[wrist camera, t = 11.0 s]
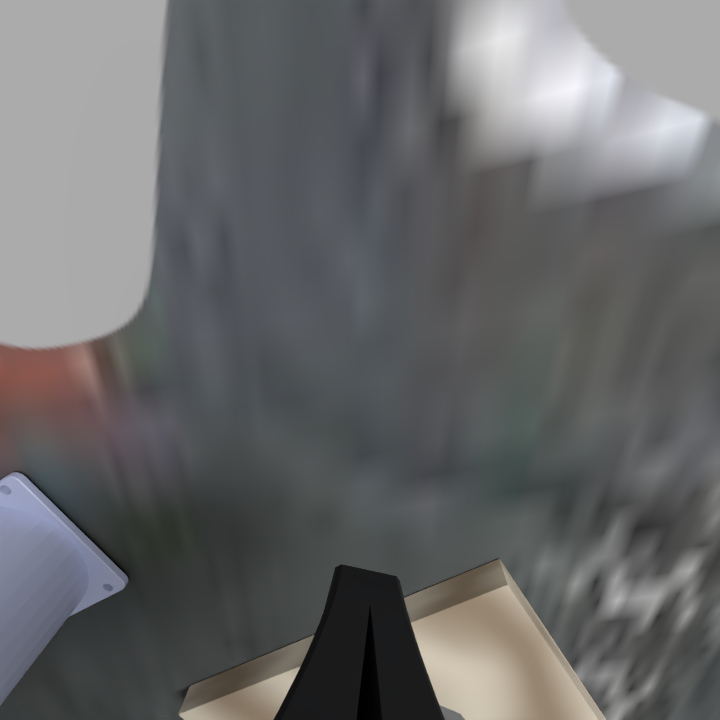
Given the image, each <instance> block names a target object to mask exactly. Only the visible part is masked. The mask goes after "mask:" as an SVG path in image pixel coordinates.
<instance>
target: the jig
mask: <svg viewBox="0 0 720 720" xmlns="http://www.w3.org/2000/svg"><path fill="white" fill-rule="evenodd" d="M404 600H405V604H406V608H407V611H408V615H409V618H410V622H411V625H412V628H413V631H414V634H415V638H416V641H417V644H418V647H419V650H420V653H421V656H422V659H423V662H424V665H425V667H426V670H427V673H428V676H429V678H430V681H431V684H432V687H433V689H434V692H435V695H436V698H437V700H438V703H439V705H440V708H441V711H442V713H443V716H444V718H445V720H606V719H605V717H604V716H603V714H602V712H601V711H600V709H599V708H598V706H597V705H596V703H595V702H594V700H593V699H592V697H591V696H590V694H589V693H588V691H587V690H586V688H585V687H584V685H583V684H582V682H581V681H580V679H579V678H578V676H577V675H576V673H575V672H574V670H573V669H572V667H571V666H570V664H569V663H568V661H567V660H566V658H565V657H564V655H563V654H562V652H561V651H560V649H559V648H558V646H557V645H556V643H555V642H554V640H553V639H552V637H551V636H550V634H549V633H548V631H547V630H546V628H545V627H544V625H543V624H542V622H541V621H540V619H539V618H538V616H537V615H536V613H535V612H534V610H533V609H532V607H531V606H530V604H529V603H528V601H527V600H526V598H525V597H524V595H523V594H522V592H521V591H520V589H519V587H518V586H517V584H516V583H515V581H514V580H513V578H512V577H511V575H510V574H509V572H508V571H507V569H506V568H505V566H504V565H503V563H502V562H501V560H500V559H497V560H495V561H492V562H490V563H487V564H485V565H483V566H480V567H478V568H475V569H473V570H470V571H468V572H466V573H463V574H461V575H458V576H456V577H453V578H451V579H449V580H446V581H444V582H441V583H439V584H436V585H434V586H432V587H429V588H427V589H424V590H422V591H419V592H417V593H415V594H412V595H410V596H407V597H405V598H404ZM313 637H314V635H312V636H310V637H307V638H305V639H303V640H300V641H298V642H295V643H293V644H290V645H288V646H286V647H283V648H281V649H278V650H276V651H273V652H271V653H269V654H266V655H264V656H261V657H259V658H256V659H254V660H252V661H249V662H247V663H244V664H242V665H239V666H237V667H235V668H232V669H230V670H227V671H225V672H222V673H220V674H218V675H215V676H213V677H210V678H208V679H205V680H203V681H200V682H198V683H196V684H193V685H191V686H190V687H189V689H188V692H187V694H186V697H185V699H184V702H183V704H182V707H181V709H180V711H179V714H178V715H180V716H181V717H182V718H183V719H184V720H274V718H275V716H276V714H277V712H278V710H279V708H280V706H281V704H282V703H283V701H284V699H285V697H286V695H287V693H288V691H289V689H290V687H291V685H292V683H293V681H294V679H295V677H296V675H297V673H298V671H299V669H300V667H301V665H302V662H303V660H304V658H305V656H306V654H307V651H308V649H309V647H310V644H311V642H312V640H313Z"/></svg>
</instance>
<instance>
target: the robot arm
mask: <svg viewBox="0 0 720 720" xmlns="http://www.w3.org/2000/svg"><path fill="white" fill-rule="evenodd" d="M127 583H128V577H127V576H126V574H125V573H124V572H123V571H122V570H121V569H119V568H118V567H117V566H116V565H115V564H114V563H113V562H112V561H111V560H110V559H109V558H108V557H107V556H106V555H105V554H104V553H103V552H102V551H101V550H100V549H99V548H98V547H97V546H96V545H95V544H94V543H93V542H92V541H91V540H90V539H89V538H88V537H87V536H86V535H85V534H84V533H83V532H82V531H81V530H80V529H79V528H78V527H77V526H76V525H75V524H74V523H73V522H72V521H70V520H69V519H68V518H67V517H66V516H65V515H64V514H63V513H62V512H61V511H60V510H59V509H58V508H57V507H56V506H55V505H54V504H53V503H52V502H51V501H50V500H49V499H48V498H47V497H46V496H45V495H44V494H43V493H42V492H41V491H40V490H39V489H38V488H37V487H36V486H35V485H34V484H33V483H32V482H31V481H30V480H29V479H28V478H27V477H26V476H24V475H23V474H21V473H18V472H13V473H11V474H9V475H7V476H6V477H4V478H3V479H1V480H0V705H1V704H2V703H3V701H4V700H5V699H6V698H7V696H8V695H9V694H10V692H11V691H12V690H13V688H14V687H15V686H16V685H17V683H18V682H19V681H20V679H21V678H22V677H23V675H24V674H25V673H26V672H27V670H28V669H29V668H30V666H31V665H32V664H33V662H34V661H35V660H36V659H37V657H38V656H39V655H40V653H41V652H42V651H43V649H44V648H45V647H46V646H47V644H48V643H49V642H50V640H51V639H52V638H53V636H54V635H55V634H56V632H57V631H58V630H59V629H60V627H61V626H62V625H63V623H64V622H65V621H66V619H67V618H68V617H70V616H71V615H73V614H75V613H77V612H79V611H81V610H83V609H85V608H87V607H89V606H91V605H93V604H95V603H97V602H99V601H101V600H103V599H105V598H107V597H109V596H111V595H113V594H115V593H117V592H119V591H121V590H123V589H124V588H125V586H126V585H127ZM274 720H445V718H444V716H443V713H442V711H441V708H440V705H439V703H438V700H437V698H436V695H435V692H434V689H433V687H432V684H431V681H430V678H429V676H428V673H427V670H426V667H425V665H424V662H423V659H422V656H421V653H420V650H419V647H418V644H417V641H416V638H415V634H414V631H413V628H412V625H411V622H410V618H409V615H408V611H407V608H406V604H405V600H404V597H403V593H402V589H401V585H400V581H399V580H398V578H397V577H396V576H392V575H388V574H383V573H379V572H374V571H369V570H365V569H360V568H356V567H351V566H346V565H339V566H337V567H335V571H334V575H333V579H332V582H331V586H330V590H329V594H328V598H327V601H326V605H325V609H324V613H323V615H322V618H321V621H320V623H319V626H318V628H317V631H316V633H315V635H314V637H313V640H312V642H311V644H310V647H309V649H308V651H307V654H306V656H305V658H304V660H303V662H302V665H301V667H300V669H299V671H298V673H297V675H296V677H295V679H294V681H293V683H292V685H291V687H290V689H289V691H288V693H287V695H286V697H285V699H284V701H283V703H282V704H281V706H280V708H279V710H278V712H277V714H276V716H275V718H274Z"/></svg>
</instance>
